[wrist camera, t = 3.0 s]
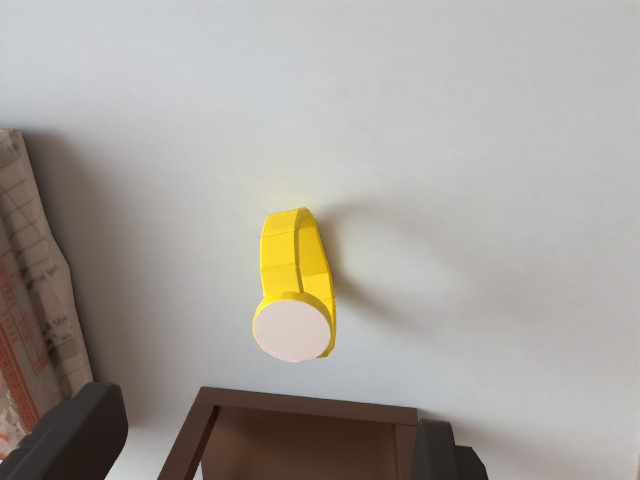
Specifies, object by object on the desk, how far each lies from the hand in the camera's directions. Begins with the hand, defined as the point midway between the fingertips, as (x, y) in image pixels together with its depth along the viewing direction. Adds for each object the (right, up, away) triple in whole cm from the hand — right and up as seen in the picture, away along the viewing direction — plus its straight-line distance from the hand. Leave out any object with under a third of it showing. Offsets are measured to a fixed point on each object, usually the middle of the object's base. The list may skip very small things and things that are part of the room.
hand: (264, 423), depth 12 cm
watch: (+1, +4, +9) cm, 10 cm away
